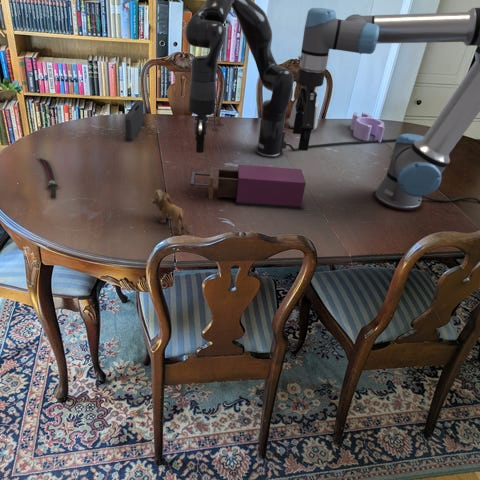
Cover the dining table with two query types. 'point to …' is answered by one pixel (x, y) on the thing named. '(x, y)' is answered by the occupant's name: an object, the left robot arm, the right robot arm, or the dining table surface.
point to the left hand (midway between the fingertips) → (199, 151)
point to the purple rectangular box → (270, 186)
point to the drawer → (220, 182)
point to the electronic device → (293, 112)
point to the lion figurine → (169, 209)
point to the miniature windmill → (217, 109)
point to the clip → (366, 127)
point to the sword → (52, 181)
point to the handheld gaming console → (134, 120)
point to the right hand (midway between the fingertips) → (299, 141)
